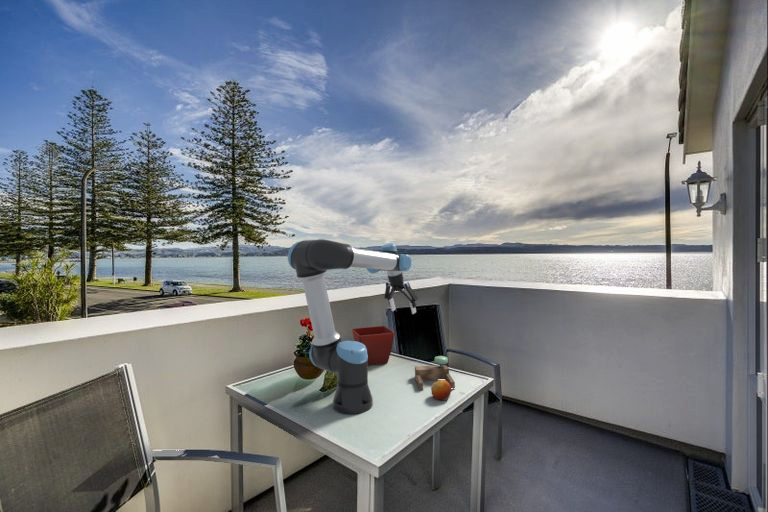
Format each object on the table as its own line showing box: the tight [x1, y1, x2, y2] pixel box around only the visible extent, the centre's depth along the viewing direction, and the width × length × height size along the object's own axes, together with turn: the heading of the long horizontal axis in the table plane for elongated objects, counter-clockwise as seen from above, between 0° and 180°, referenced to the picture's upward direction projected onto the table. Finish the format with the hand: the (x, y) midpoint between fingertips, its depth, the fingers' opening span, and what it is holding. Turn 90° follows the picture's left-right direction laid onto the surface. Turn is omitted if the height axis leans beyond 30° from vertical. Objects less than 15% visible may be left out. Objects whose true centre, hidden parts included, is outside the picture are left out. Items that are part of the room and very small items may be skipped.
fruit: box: [430, 380, 452, 401], centre depth 132 cm, size 8×8×8 cm
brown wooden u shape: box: [415, 372, 456, 391], centre depth 145 cm, size 15×10×3 cm
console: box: [414, 364, 450, 381], centre depth 153 cm, size 15×5×5 cm, turn 92°
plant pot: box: [351, 325, 395, 366], centre depth 179 cm, size 19×19×17 cm
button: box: [434, 355, 449, 368], centre depth 153 cm, size 6×6×7 cm
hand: (403, 311), depth 172 cm, fingers open, 13 cm apart
